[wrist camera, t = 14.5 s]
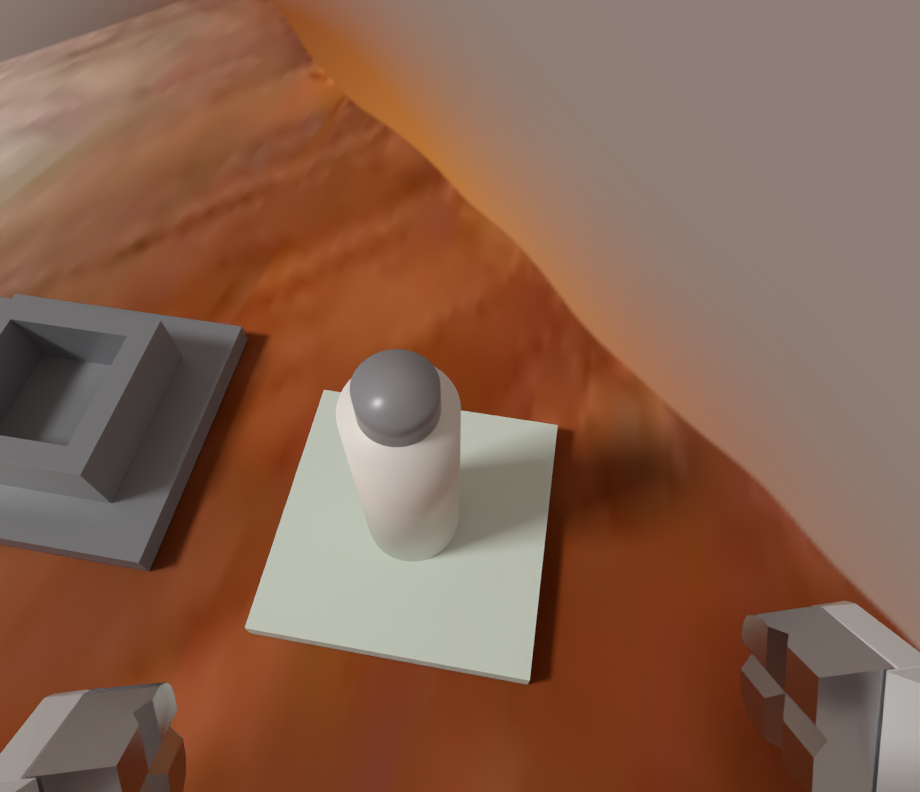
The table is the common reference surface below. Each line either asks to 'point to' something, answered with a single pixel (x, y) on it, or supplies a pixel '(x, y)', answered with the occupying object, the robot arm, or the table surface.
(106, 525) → the socket block
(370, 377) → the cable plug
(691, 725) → the table surface
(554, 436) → the sage mat
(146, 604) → the table surface
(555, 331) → the table surface
